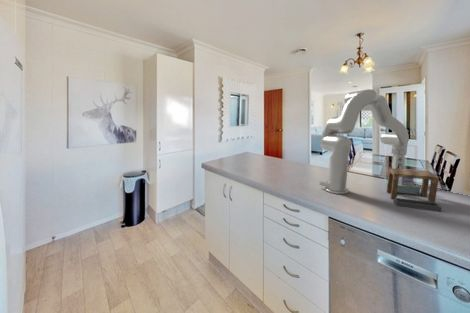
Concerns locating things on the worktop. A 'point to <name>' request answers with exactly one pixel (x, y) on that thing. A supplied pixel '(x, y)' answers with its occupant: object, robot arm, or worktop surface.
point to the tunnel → (418, 174)
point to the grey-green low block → (407, 188)
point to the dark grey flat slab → (417, 204)
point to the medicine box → (405, 181)
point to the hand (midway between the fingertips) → (395, 178)
